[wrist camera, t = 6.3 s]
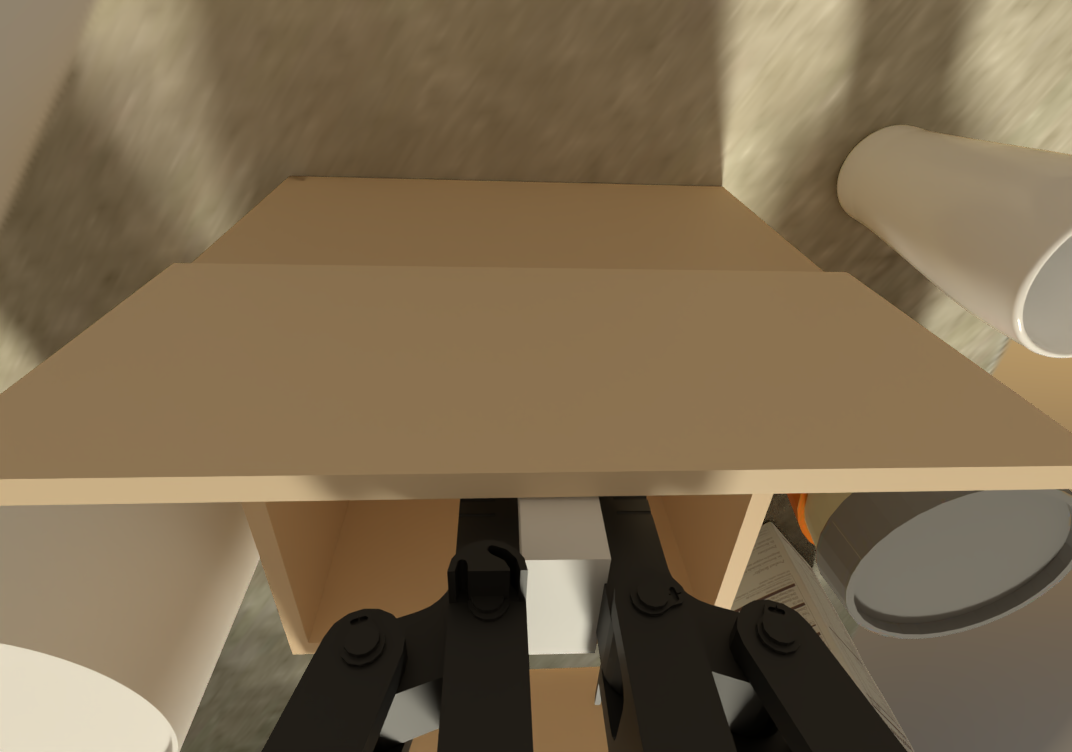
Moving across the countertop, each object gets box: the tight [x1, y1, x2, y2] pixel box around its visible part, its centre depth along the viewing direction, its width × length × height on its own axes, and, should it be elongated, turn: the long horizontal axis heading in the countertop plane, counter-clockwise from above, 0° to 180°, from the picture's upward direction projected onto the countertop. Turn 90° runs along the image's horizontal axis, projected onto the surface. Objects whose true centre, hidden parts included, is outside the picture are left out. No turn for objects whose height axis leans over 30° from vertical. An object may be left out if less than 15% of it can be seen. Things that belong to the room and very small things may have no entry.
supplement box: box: [730, 522, 914, 752], centre depth 45 cm, size 10×9×17 cm
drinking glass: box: [837, 125, 1072, 358], centre depth 27 cm, size 7×7×15 cm
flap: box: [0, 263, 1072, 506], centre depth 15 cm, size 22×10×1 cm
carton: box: [192, 176, 824, 654], centre depth 32 cm, size 24×22×14 cm
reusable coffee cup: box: [787, 489, 1072, 639], centre depth 36 cm, size 13×13×15 cm
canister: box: [0, 502, 260, 752], centre depth 31 cm, size 14×14×20 cm
